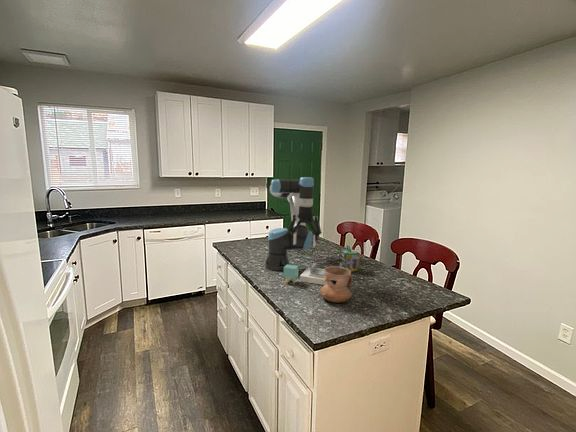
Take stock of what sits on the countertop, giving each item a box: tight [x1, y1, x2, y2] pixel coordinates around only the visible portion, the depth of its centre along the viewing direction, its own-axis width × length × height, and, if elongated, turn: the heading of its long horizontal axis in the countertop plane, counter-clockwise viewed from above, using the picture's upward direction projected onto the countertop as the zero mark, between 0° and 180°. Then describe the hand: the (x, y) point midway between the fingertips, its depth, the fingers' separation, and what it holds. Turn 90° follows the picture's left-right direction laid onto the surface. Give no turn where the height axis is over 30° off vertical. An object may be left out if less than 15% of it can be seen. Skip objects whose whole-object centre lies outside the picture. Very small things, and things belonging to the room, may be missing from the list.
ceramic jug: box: [319, 265, 353, 304], centre depth 145 cm, size 18×14×14 cm
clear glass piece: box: [310, 262, 324, 276], centre depth 171 cm, size 7×8×4 cm
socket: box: [299, 266, 327, 286], centre depth 171 cm, size 20×16×4 cm
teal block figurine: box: [283, 264, 300, 284], centre depth 165 cm, size 7×5×8 cm
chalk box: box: [338, 245, 360, 273], centre depth 186 cm, size 9×9×15 cm
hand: (304, 245), depth 172 cm, fingers open, 11 cm apart
